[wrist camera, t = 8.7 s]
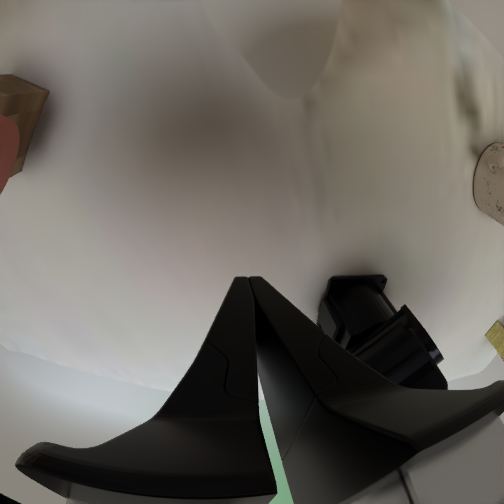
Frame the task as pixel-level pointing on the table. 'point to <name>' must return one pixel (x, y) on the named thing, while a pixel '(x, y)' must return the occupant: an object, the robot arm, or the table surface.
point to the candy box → (497, 337)
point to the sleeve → (21, 110)
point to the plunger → (7, 148)
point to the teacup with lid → (491, 182)
